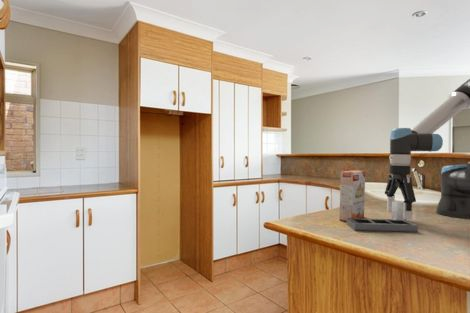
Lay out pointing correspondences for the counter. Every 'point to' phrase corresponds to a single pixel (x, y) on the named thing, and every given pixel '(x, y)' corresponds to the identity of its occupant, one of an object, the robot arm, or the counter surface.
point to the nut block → (397, 209)
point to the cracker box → (352, 194)
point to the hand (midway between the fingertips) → (398, 215)
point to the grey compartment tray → (382, 225)
